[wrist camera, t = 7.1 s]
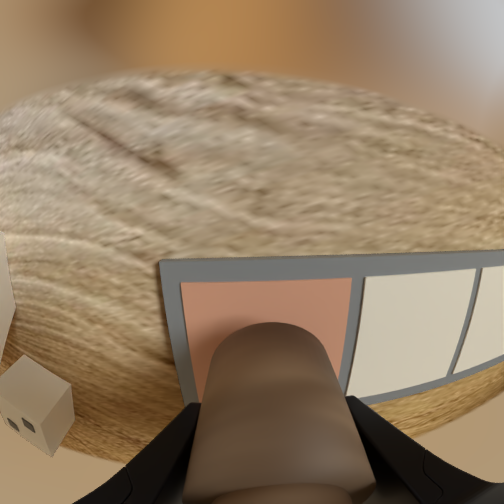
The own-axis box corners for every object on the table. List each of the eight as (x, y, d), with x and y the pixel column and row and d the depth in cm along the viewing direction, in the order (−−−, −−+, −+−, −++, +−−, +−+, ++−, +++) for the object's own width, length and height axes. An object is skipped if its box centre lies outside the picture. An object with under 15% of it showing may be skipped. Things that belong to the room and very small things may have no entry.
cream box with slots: (71, 383, 12) (39, 425, 8) (75, 419, 13) (51, 458, 9) (24, 353, 12) (-11, 386, 8) (32, 392, 13) (5, 424, 9)
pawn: (349, 340, 9) (442, 527, 2) (297, 420, 10) (321, 578, 3) (232, 304, 9) (193, 559, 1) (197, 395, 10) (157, 570, 2)
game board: (536, 247, 10) (541, 249, 10) (508, 354, 12) (512, 357, 12) (162, 259, 10) (158, 262, 10) (188, 409, 12) (186, 416, 12)
